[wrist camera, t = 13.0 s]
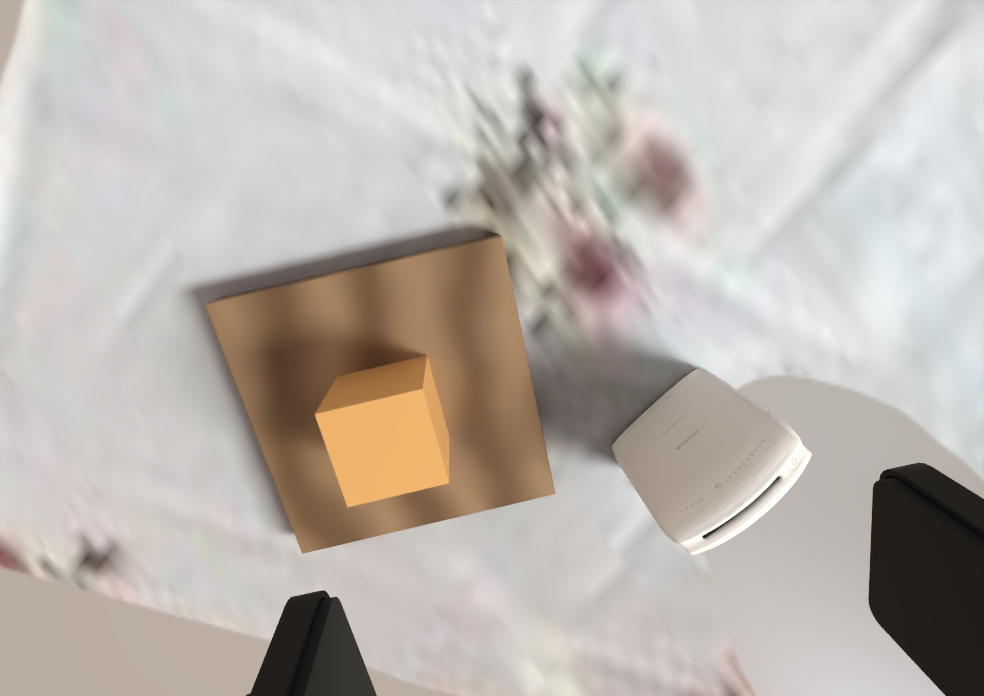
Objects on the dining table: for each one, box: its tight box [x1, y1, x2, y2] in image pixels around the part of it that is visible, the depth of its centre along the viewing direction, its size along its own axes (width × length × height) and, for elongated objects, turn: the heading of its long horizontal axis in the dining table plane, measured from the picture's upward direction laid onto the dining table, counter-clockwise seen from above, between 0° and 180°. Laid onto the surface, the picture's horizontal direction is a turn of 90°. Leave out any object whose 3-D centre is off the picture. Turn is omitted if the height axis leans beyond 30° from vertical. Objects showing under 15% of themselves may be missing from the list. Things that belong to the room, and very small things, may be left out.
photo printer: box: [612, 368, 811, 555], centre depth 36 cm, size 10×4×12 cm, turn 135°
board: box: [205, 234, 555, 554], centre depth 36 cm, size 20×20×7 cm
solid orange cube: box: [315, 355, 449, 507], centre depth 34 cm, size 6×6×6 cm
